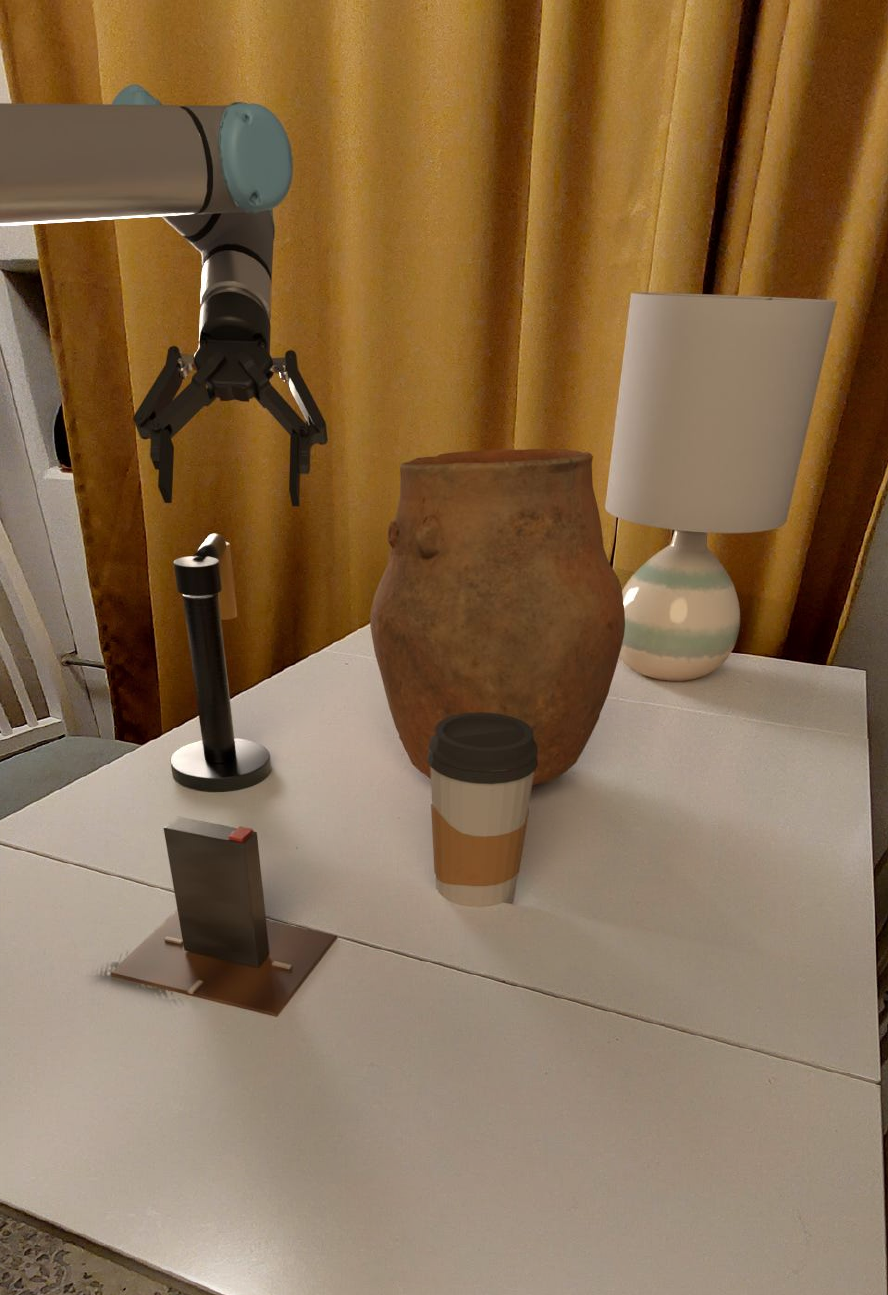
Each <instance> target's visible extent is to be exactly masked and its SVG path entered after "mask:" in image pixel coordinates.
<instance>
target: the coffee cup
mask: <svg viewBox="0 0 888 1295" xmlns="http://www.w3.org/2000/svg"><path fill="white" fill-rule="evenodd" d="M537 753H538V748H537V743H536V742H535V741H534V735H533V730H532V728H531V727H530V726H529V725H528V724H526V723H525V722H523V721H522V720H519V719H517V718H514V717H511V716H507V715H503V714H496V713H485V712H474V713H463V714H458V715H453V716H450V717H447V718H445V719H443V720H442V721H440V722H439V723H438V724H437V726H436V728H435V735H434V736H433V737H432V738H431V740H430V744H429V753H428V760H427V761H428V763H429V764H430V769H431V779H430V786H431V788H430V789H431V804H430V810H431V811H430V812H431V831H432V832H431V833H432V852H433V853H432V855H433V869H434V870H433V871H434V875H435V890H437V892H438V893H439V895H440V896H442V898H444V899H445V900H447V901H449V902H450V903H453V904H457V905H460V906H463V907H470V908H486V907H494V906H497V905H501V904H502V903H504V904H509V905H513V903H514V900H515V893H516V887H517V881H518V875H519V873H520V868H521V862H522V855H523V851H524V850H523V849H524V843H525V837H526V831H527V825H528V821H529V820H528V819H529V814H530V811H529V810H530V801H531V796H532V795H531V794H532V788H533V785H532V783H533V777H534V771H535V770H536V768H537V766H538V760H537Z"/></svg>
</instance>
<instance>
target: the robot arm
mask: <svg viewBox="0 0 888 1295" xmlns="http://www.w3.org/2000/svg"><path fill="white" fill-rule="evenodd" d="M293 160H294V158H293V154H292V147H291V142H290V139H289V136H288V133H287V131H286V130H285V128H284V125H283V123H282V122H281V120H280V119H279V118H278V116H276V114H274V112H272V110H270V109H269V108H267V107H266V106H264V105H262V104H258V103H252V102H251V103H247V102H243V101H235V102H231V103H230V104H224V105H189V104H188V105H177V104H162V101H161V100H159V98H156V97H155V96H153V94H151V93H150V92H149V91H147V90H146V89H145V88H144V87H143V86H142V85H140V84H136V83H135V84H133V83H132V84H129V85H127V86H125V87H124V88H123V89H121V90H120V91H119V92H118V93H117V94H116V96H114V98H113V100H112V102H111V104H109V103H108V104H107V103H105V104H104V103H103V104H102V103H99V104H98V103H97V104H96V103H19V102H18V103H16V102H15V103H13V102H12V103H10V102H8V103H7V102H4V103H3V102H0V227H6V226H8V227H9V226H22V225H23V226H24V225H38V224H40V225H41V224H55V223H72V222H86V221H103V220H119V219H134V218H150V217H152V218H153V217H154V218H155V217H161V218H162V219H163V220H164V221H165V222H166V223H167V224H169V225H170V226H171V227H172V229H174V230H175V231H176V232H178V233H179V234H180V236H182V237H183V238H184V239H185V240H186V241H187V242H188V243H190V245H191V246H192V247H194V248H195V249H196V250H197V251H199V253H200V254H201V286H200V287H201V288H200V302H199V303H200V304H199V305H200V310H199V333H198V334H199V335H198V336H199V337H198V347H197V348H198V349H197V350H196V351H195V353H194V354H188V353H181V351H180V348H179V347H178V346H176V345H172V346H171V345H170V347H168V349H167V353H166V360H165V364H164V366H163V367H162V369H161V371H160V373H159V374H158V375H157V377H156V379H155V381H154V382H153V384H152V385H151V387H150V388H149V390H148V392H147V393H146V395H145V397H144V398H143V400H142V402H141V403H140V405H139V406H138V408H137V410H136V412H135V413H134V415H133V417H132V420H133V422H134V425H135V427H136V430H137V432H138V435H139V437H140V439H141V440H144V441H145V440H148V439H149V440H150V448H149V449H150V450H149V457H150V459H151V463H152V466H153V467H154V470H155V471H158V476H157V477H158V478H157V480H158V481H157V488H158V490H159V492H160V495H161V497H162V499H163V503H164V504H172V503H173V484H174V482H173V480H174V459H175V447H174V443H173V441H172V440H173V438H174V437H175V436H176V435H177V434H178V433H179V432H180V431H181V430H182V429H183V428H184V427H185V426H186V425H187V424H188V423H189V421H191V420H192V419H193V418H194V417H195V416H196V415H197V414H198V413H199V412H200V411H201V410H202V409H203V408H204V407H207V408H208V407H209V406H210V405H211V404H212V403H213V402H214V401H215V400H216V399H219V400H220V402H231V401H234V400H235V401H239V402H242V403H243V402H246V403H249V402H250V400H252V399H255V400H256V401H257V402H258V403H259V405H260V406H261V407H262V408H263V409H266V410H267V412H269V414H271V415H272V417H273V418H274V419H275V420H276V421H277V422H278V424H279V425H280V426H281V427H282V428H283V429H284V430H285V431H286V433H287V434H288V435H289V437H290V439H289V440H290V441H289V473H288V474H289V476H288V478H289V480H288V481H289V482H288V486H289V488H288V491H289V497H290V502H291V507H300V488H301V475H309V473H310V471H311V452H312V451H311V450H312V447H313V446H314V445H317V444H318V445H320V446H324V445H326V444H327V443H328V442H329V439H328V429H327V423H326V422H327V421H325V418H324V417H323V414H322V412H321V410H320V409H319V407H318V404H317V403H316V401H315V398H314V397H313V395H312V394H311V391H310V388H308V386H307V384H306V382H305V380H304V378H303V376H302V374H301V372H300V370H299V364H298V356H297V352H296V351H294V350H292V349H289V350H287V351H286V352H285V354H284V357H272V356H271V334H272V333H271V332H272V330H271V329H272V325H271V320H272V288H273V287H272V284H273V280H272V279H273V260H274V242H275V232H276V227H275V221H274V209H275V208H276V207H279V205H280V204H282V202H283V201H284V200H285V198H286V197H287V195H288V193H289V191H290V188H291V185H292V181H293V176H294V175H293V173H294V162H293ZM192 371H195V372H194V374H193V375H192V377H191V381H190V382H189V383H188V384H187V385H186V386H185V387H184V388H183V389H182V390H181V391H180V392H179V390H180V388H181V387H182V384H183V380H184V381H186V380H188V378H189V377H188V376H189V374H190V373H191V372H192ZM275 374H278V375H279V377H280V379H281V380H282V381H283V382H284V383H285V384H288V385H289V389H290V392H291V395H292V396H293V398H294V400H295V402H296V404H297V406H298V408H299V409H300V412H301V414H302V416H303V417H304V419H305V421H304V419H303V418H301V417H300V415H299V414H298V413H297V412H296V411H295V410H294V409H293V407H292V406H291V405H290V404H289V403H288V402H287V400H285V399H284V397H283V396H282V395H281V394H280V393H279V392H278V391H277V389H276V388H275V387H274V386H273V385H272V383H271V381H270V380H271V379H272V378H273V376H274V375H275ZM178 392H179V394H178Z"/></svg>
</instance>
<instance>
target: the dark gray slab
mask: <svg viewBox="0 0 888 1295" xmlns="http://www.w3.org/2000/svg"><path fill="white" fill-rule="evenodd" d="M163 834H164V839H165V844H166V845H165V846H166V852H167V856H168V857H167V858H168V863H169V868H170V874H171V880H172V886H173V891H174V892H173V893H174V897H175V904H176V910H178V916H179V922H180V927H181V933H182V939H183V945H184V950H185V951H188V952H192V953H197V954H201V955H205V956H209V957H214V958H218V959H222V960H226V961H231V962H235V963H239V964H244V965H248V966H252V967H256V968H259V967H260V965H261V964H262V963H263V962H264V961H265V959H266V958H267V957H268V956H269V954H270V953H269V944H268V934H267V924H266V920H267V916H266V906H265V898H264V897H265V896H264V887H263V877H262V868H261V859H260V858H261V857H260V849H259V848H260V847H259V839H258V832H257V831H254V828H250V827H244V826H238V827H233V826H229V825H223V824H218V823H214V822H208V821H202V820H197V819H192V818H189V817H182V816H176V817H174V819H173V820H172V821H170V822H168V824H166V825H165V826H163Z"/></svg>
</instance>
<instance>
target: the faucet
mask: <svg viewBox="0 0 888 1295" xmlns="http://www.w3.org/2000/svg"><path fill="white" fill-rule="evenodd" d="M182 602H183V607H184V616H185V617H184V618H185V624H186V630H187V637H188V646H189V653H190V660H191V667H192V668H191V669H192V675H193V681H194V684H193V685H194V690H195V698H196V705H197V712H198V720H199V727H200V734H201V740H197V741H194V742H191V743H188V744H185V745H184V746H182V747H180V748H177V750H176V751H174V752H173V754H171V757H170V760H169V761H170V767H171V768H170V769H171V774H172V778H173V779H174V780H175V782H176V783H178V784H179V785H181V786H183V787H185V788H187V789H191V790H194V791H199V792H208V793H219V792H220V793H222V792H223V793H224V792H233V791H239V790H243V789H246V788H250V787H253V786H255V785H258V784H259V783H261V782H263V781H264V780H266V779H267V777H268V776H269V775H270V774H271V771H272V764H271V763H272V762H271V755H270V751H269V750H268V748H266V747H265V746H264V745H262V744H260V743H258V742H256V741H254V740H253V741H252V740H249V739H243V738H238V737H237V738H235V731H234V722H233V712H232V706H231V705H232V704H231V697H230V686H229V679H228V670H227V660H226V653H225V644H224V643H225V642H224V634H223V626H222V620H221V616H220V607H219V598H218V593H217V594H213V595H208V596H188V595H183V594H182Z"/></svg>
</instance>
